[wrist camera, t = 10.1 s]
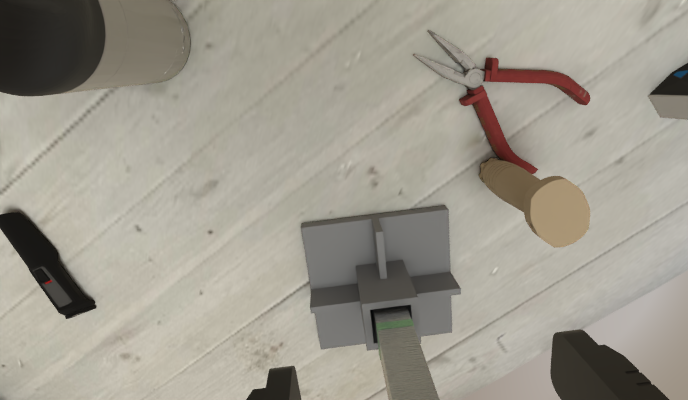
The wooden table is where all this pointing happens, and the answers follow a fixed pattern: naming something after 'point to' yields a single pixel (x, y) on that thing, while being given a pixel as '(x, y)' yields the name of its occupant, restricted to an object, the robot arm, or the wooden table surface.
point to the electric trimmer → (44, 265)
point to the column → (402, 356)
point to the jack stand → (379, 273)
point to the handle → (540, 201)
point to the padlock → (672, 95)
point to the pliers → (492, 74)
